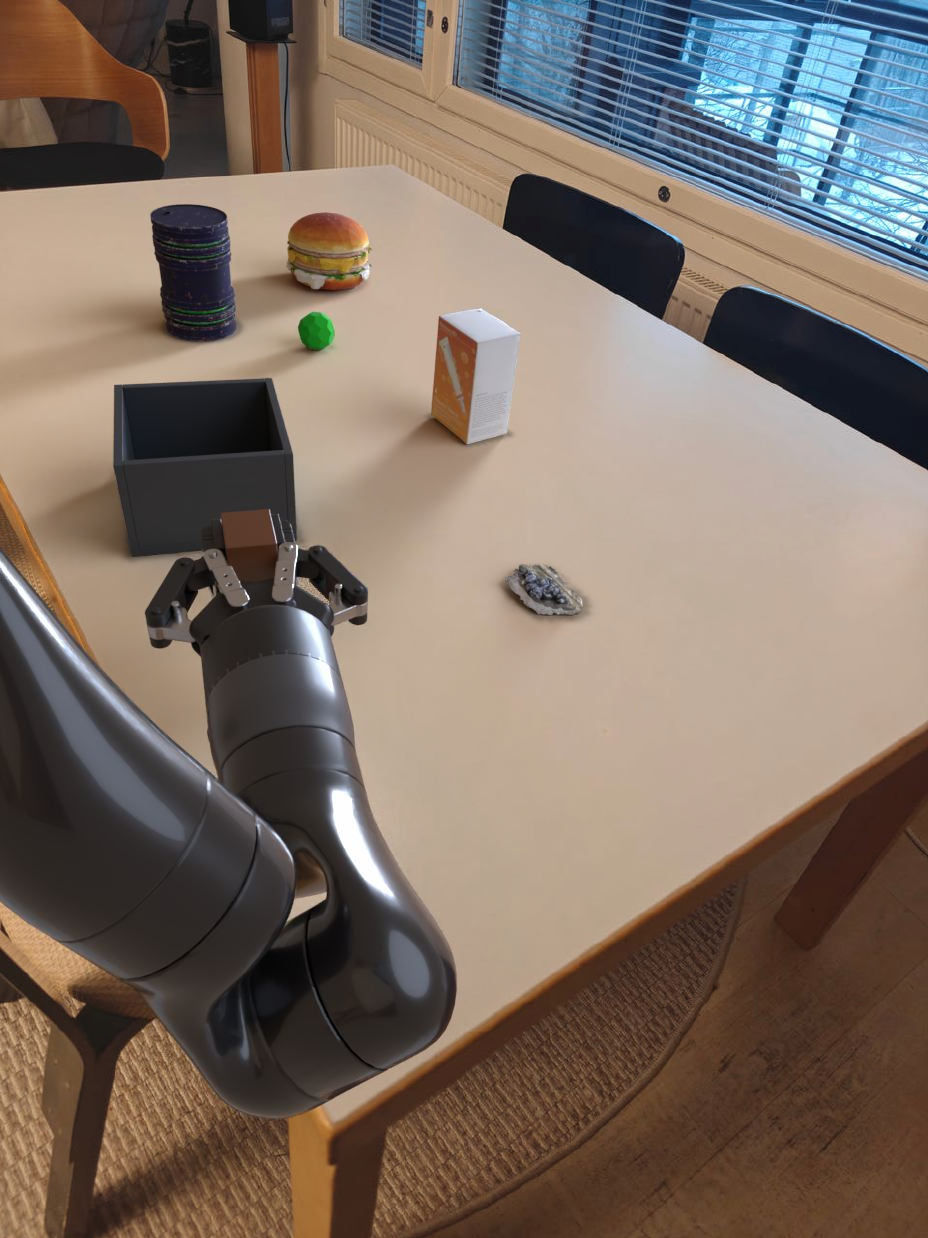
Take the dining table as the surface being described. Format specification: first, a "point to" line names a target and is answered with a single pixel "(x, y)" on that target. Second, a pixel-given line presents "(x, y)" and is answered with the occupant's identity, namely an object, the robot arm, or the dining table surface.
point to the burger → (328, 251)
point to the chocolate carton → (250, 544)
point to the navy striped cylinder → (194, 271)
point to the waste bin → (198, 459)
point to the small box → (474, 374)
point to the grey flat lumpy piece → (544, 590)
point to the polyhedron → (316, 331)
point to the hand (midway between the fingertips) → (245, 527)
